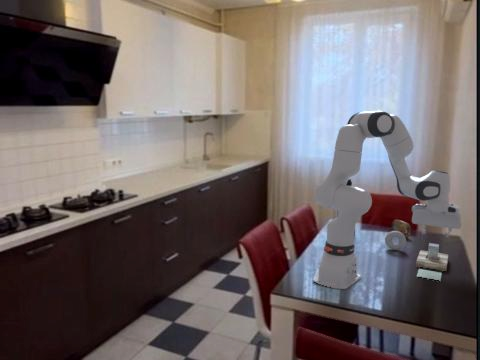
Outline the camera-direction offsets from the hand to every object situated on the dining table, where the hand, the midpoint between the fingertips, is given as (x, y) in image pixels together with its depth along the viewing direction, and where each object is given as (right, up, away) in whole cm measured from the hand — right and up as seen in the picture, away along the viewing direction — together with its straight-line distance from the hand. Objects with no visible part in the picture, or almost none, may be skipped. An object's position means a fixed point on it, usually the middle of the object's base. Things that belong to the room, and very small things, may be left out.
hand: (435, 235), depth 178 cm
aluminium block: (0, -13, +2) cm, 14 cm away
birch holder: (0, -13, +2) cm, 14 cm away
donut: (-10, -11, +20) cm, 25 cm away
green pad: (-8, -16, -12) cm, 21 cm away
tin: (+3, -7, +45) cm, 45 cm away
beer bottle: (-30, -7, +43) cm, 52 cm away
